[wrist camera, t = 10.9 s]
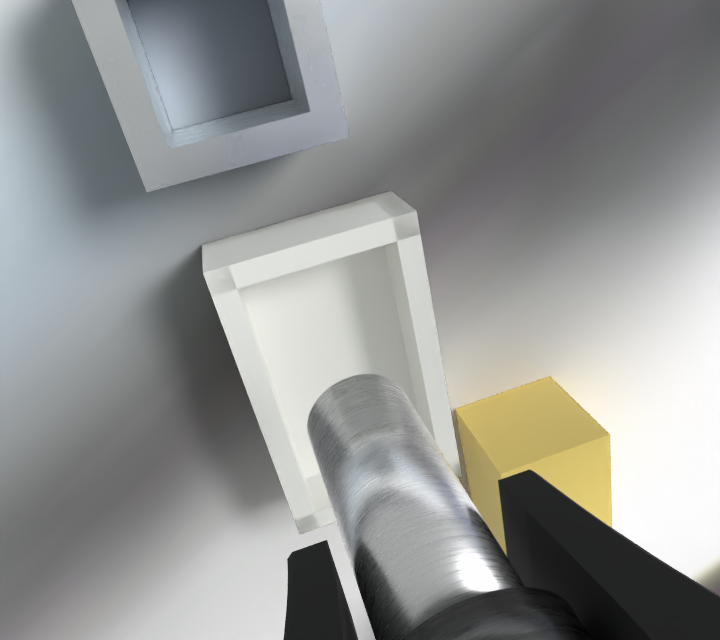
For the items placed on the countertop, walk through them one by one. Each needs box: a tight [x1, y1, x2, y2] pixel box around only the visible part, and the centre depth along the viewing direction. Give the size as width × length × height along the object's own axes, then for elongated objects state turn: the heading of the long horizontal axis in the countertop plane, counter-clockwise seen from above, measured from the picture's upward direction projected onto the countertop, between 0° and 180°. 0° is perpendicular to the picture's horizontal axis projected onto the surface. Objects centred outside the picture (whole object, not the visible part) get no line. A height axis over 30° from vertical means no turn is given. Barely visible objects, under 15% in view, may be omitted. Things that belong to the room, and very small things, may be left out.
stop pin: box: [307, 374, 593, 640], centre depth 11 cm, size 3×3×7 cm
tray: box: [202, 191, 462, 534], centre depth 19 cm, size 6×10×2 cm, turn 12°
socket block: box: [71, 0, 350, 192], centre depth 14 cm, size 5×5×3 cm
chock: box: [455, 376, 612, 556], centre depth 23 cm, size 4×6×4 cm, turn 13°
